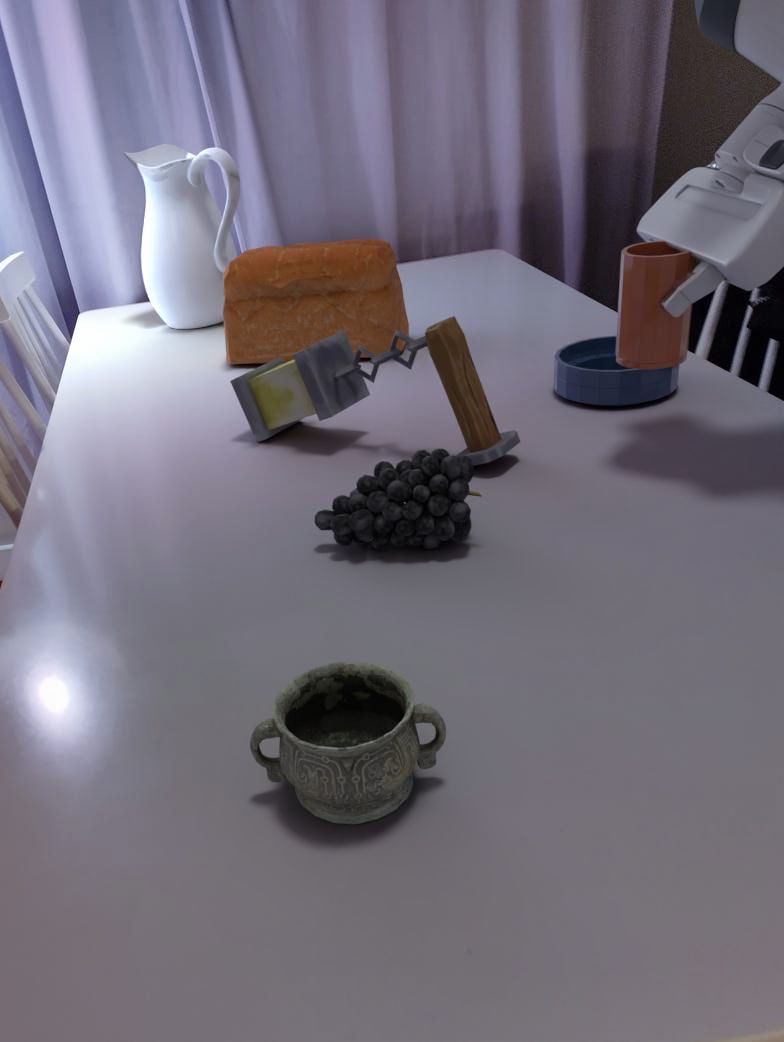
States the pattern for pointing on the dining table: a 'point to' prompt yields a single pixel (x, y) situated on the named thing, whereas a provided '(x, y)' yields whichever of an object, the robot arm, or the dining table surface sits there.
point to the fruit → (424, 518)
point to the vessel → (348, 740)
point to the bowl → (607, 375)
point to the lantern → (337, 383)
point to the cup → (651, 306)
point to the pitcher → (185, 234)
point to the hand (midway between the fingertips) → (648, 301)
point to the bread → (312, 299)
